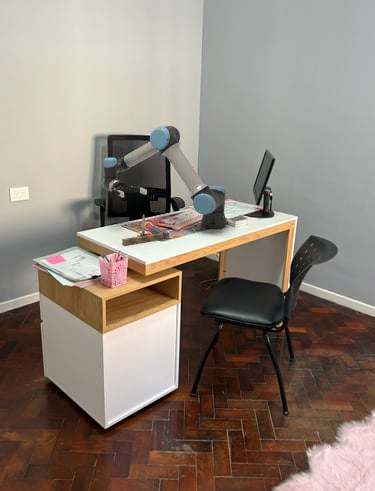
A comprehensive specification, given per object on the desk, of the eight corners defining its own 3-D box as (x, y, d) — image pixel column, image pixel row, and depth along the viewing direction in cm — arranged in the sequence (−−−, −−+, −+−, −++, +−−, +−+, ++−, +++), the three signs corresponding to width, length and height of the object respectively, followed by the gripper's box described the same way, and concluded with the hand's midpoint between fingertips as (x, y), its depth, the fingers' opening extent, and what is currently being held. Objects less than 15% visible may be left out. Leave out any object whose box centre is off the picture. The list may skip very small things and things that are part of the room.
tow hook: (146, 234, 237) (135, 237, 230) (147, 211, 234) (136, 213, 226) (158, 237, 233) (148, 241, 225) (160, 213, 229) (149, 216, 222)
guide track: (154, 230, 243) (154, 225, 242) (169, 238, 230) (169, 233, 229) (110, 237, 229) (110, 231, 228) (124, 245, 216) (124, 240, 215)
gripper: (137, 191, 260) (155, 197, 243) (98, 196, 247) (113, 203, 230) (137, 179, 257) (155, 184, 241) (97, 182, 244) (113, 188, 227)
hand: (135, 193), depth 235 cm, fingers open, 13 cm apart
